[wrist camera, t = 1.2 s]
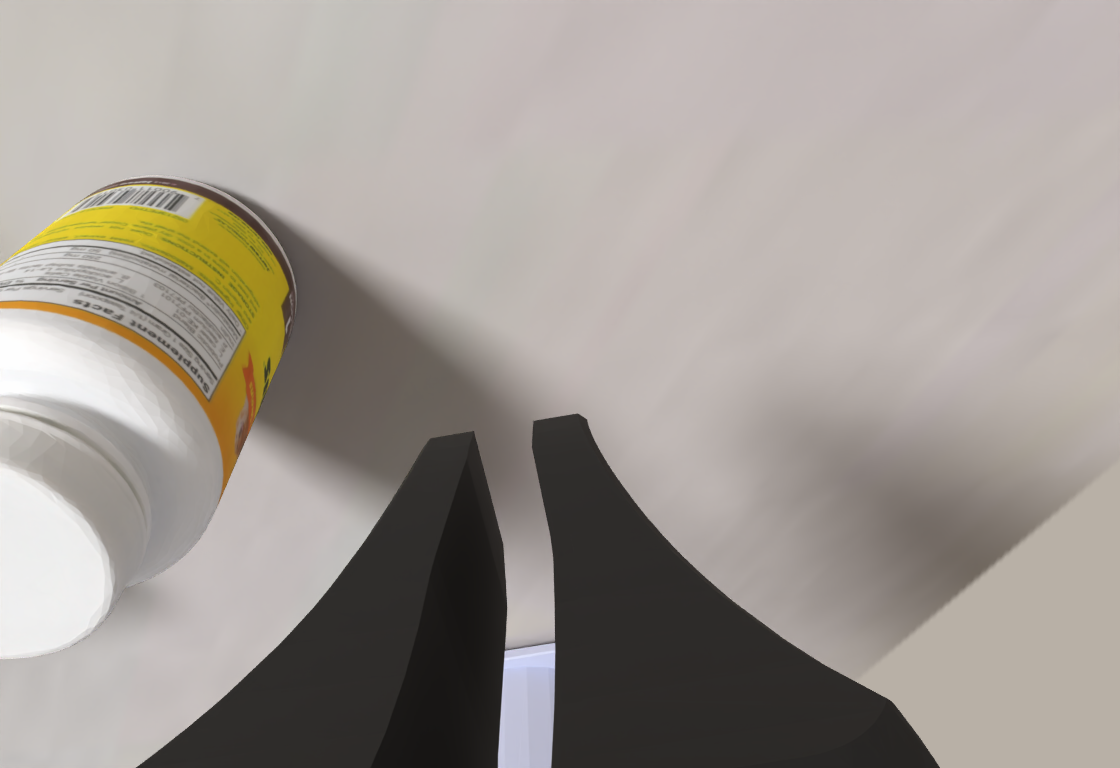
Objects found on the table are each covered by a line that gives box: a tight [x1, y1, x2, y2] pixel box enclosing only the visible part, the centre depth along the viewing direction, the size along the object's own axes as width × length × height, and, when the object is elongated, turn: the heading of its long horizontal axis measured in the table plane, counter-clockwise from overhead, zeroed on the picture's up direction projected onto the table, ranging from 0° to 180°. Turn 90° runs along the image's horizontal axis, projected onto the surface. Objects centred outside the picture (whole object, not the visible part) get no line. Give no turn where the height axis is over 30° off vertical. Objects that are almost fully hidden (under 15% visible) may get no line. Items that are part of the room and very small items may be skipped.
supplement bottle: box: [0, 175, 297, 659], centre depth 17 cm, size 6×6×10 cm
